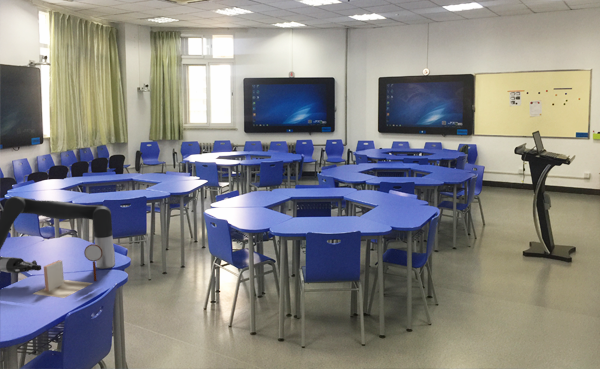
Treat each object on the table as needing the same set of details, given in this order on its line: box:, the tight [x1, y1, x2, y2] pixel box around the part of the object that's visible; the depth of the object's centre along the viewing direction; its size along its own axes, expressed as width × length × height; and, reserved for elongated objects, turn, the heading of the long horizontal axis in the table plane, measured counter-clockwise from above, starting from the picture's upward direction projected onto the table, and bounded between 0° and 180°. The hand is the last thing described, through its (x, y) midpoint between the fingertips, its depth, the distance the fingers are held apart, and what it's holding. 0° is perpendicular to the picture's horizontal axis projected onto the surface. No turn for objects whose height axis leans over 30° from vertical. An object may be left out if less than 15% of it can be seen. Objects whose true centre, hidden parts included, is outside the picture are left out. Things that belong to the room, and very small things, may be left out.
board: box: [32, 279, 94, 299], centre depth 252 cm, size 20×18×1 cm
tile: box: [43, 259, 65, 291], centre depth 252 cm, size 10×2×12 cm, turn 164°
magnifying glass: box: [83, 243, 102, 282], centre depth 260 cm, size 9×2×20 cm, turn 95°
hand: (40, 268), depth 254 cm, fingers closed
